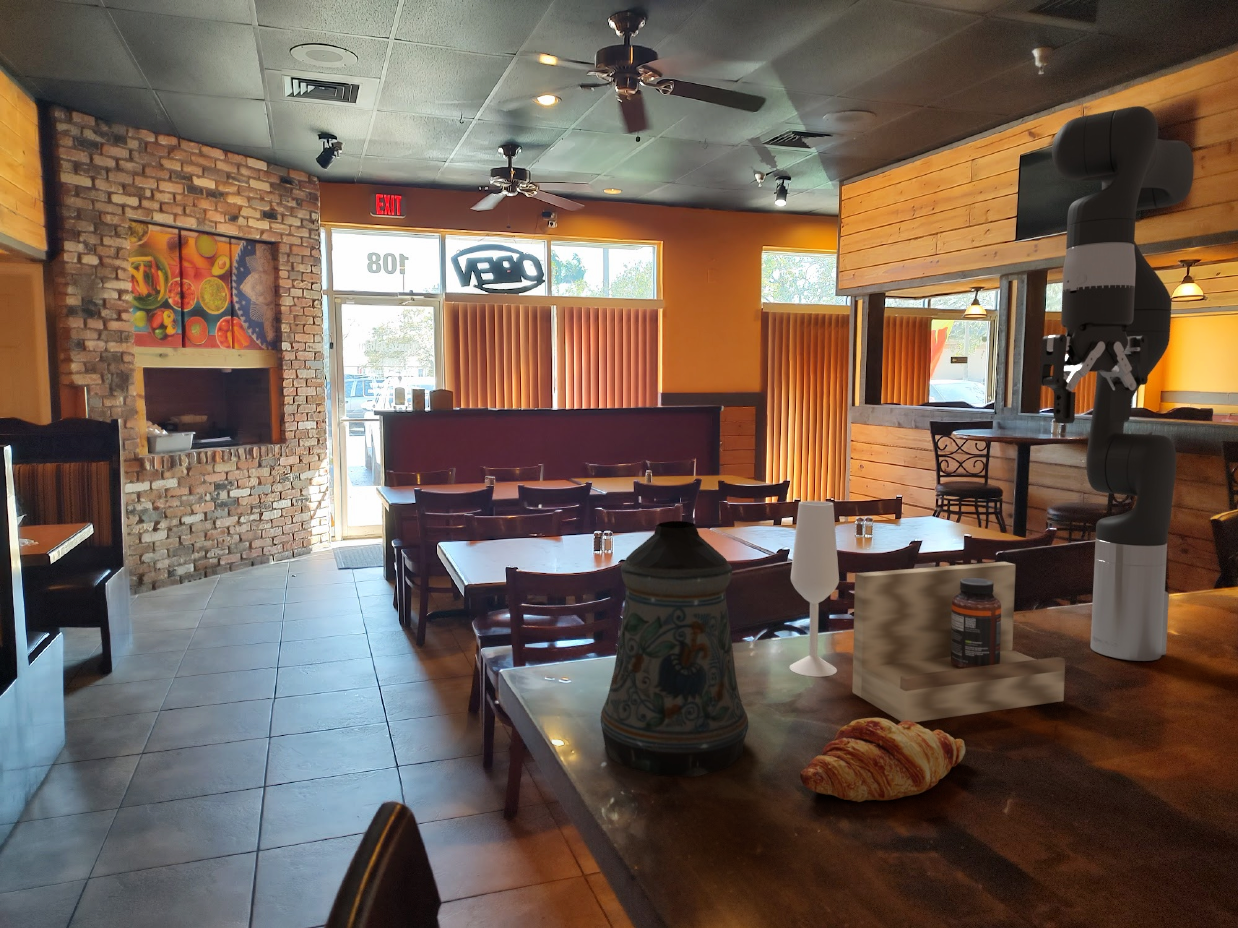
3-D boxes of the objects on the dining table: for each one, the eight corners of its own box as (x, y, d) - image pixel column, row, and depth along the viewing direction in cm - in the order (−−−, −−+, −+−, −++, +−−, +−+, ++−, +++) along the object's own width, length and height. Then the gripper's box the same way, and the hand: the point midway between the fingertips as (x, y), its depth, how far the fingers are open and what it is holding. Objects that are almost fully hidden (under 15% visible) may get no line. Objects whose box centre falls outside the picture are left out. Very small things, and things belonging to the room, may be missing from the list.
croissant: (938, 781, 93) (915, 708, 96) (1010, 772, 85) (982, 692, 88) (785, 821, 84) (765, 738, 86) (849, 815, 75) (824, 724, 78)
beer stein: (623, 787, 84) (622, 542, 82) (580, 715, 103) (579, 514, 101) (773, 767, 89) (776, 534, 87) (706, 702, 107) (707, 509, 105)
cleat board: (1000, 673, 118) (1004, 561, 117) (1063, 700, 108) (1068, 578, 106) (852, 692, 111) (855, 573, 109) (904, 723, 100) (908, 592, 99)
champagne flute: (837, 663, 123) (840, 500, 121) (837, 678, 116) (840, 507, 114) (790, 659, 124) (792, 499, 122) (788, 674, 118) (790, 505, 116)
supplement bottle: (990, 659, 111) (993, 576, 111) (1006, 674, 106) (1010, 586, 105) (944, 658, 112) (946, 575, 111) (957, 673, 106) (960, 585, 105)
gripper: (1116, 291, 105) (1110, 420, 107) (1025, 288, 101) (1021, 422, 102) (1172, 284, 98) (1165, 422, 100) (1077, 280, 94) (1071, 425, 95)
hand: (1092, 422), depth 101 cm, fingers open, 8 cm apart
